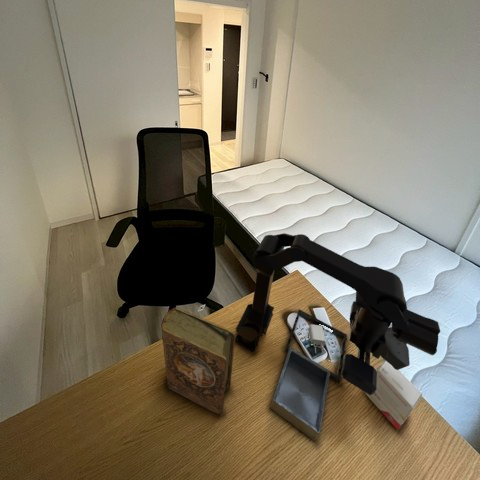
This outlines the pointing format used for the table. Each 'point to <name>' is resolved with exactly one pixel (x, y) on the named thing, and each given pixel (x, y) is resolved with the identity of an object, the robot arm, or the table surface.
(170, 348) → the book
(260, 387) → the table surface
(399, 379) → the ink box
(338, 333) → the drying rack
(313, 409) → the sink
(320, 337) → the usb wall charger
